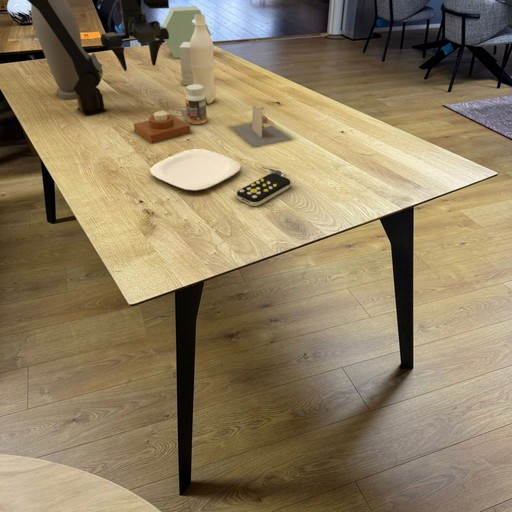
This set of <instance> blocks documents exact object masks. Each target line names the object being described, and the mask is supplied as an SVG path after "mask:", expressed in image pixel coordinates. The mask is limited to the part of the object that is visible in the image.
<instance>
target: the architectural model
mask: <svg viewBox="0 0 512 512" xmlns="http://www.w3.org/2000/svg"><path fill="white" fill-rule="evenodd" d="M251 108H252V109H251V110H252V114H251V115H252V119H251V120H252V121H251V123H245V124H240V125H235V126H230V129H231V130H233V132H235V133H236V134H238V136H240V137H241V138H242V139H243V140H245V142H247V143H248V144H249V145H251V146H252V147H253V148H255V147H260V146H261V147H262V146H265V145H270V144H276V143H280V142H284V141H289V140H291V138H290V137H289V136H288V135H286V134H285V133H283V132H282V131H280V130H279V129H278V128H276V127H275V126H276V123H275V122H274V121H272V120H270V119H269V118H268V116H266V115H265V114H264V113H263V110H264V108H265V106H260V107H258V106H257V105H255V104H254V103H252V107H251Z"/></svg>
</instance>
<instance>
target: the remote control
mask: <svg viewBox="0 0 512 512" xmlns="http://www.w3.org/2000/svg"><path fill="white" fill-rule="evenodd" d="M290 188H291V180H290V179H289V178H287V177H285V176H283V175H280V174H279V173H268V174H266V175H264V176H263V177H261V178H259V179H257V180H255V181H254V182H251V183H249V184H247V185H246V186H244V187H242V188H240V189H238V190H237V192H236V199H237V200H238V201H240V202H243V203H244V204H247V205H249V206H251V207H258V206H261V205H262V204H264V203H266V202H268V201H270V200H271V199H273V198H274V197H276V196H278V195H280V194H282V193H283V192H285V191H286V190H288V189H290Z"/></svg>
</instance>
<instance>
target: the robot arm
mask: <svg viewBox="0 0 512 512" xmlns="http://www.w3.org/2000/svg"><path fill="white" fill-rule="evenodd" d="M26 1H27V2H28V3H30V5H31V4H32V5H33V6H34V7H36V8H37V9H38V10H39V12H40V13H41V15H42V16H43V17H44V19H45V20H46V22H47V23H48V25H49V26H50V28H51V29H52V31H53V32H54V34H55V35H56V37H57V38H58V40H59V41H60V43H61V44H62V46H63V47H64V48H65V50H66V51H67V53H68V54H69V56H70V57H71V59H72V61H73V64H74V67H75V70H76V73H77V75H78V77H79V79H78V81H77V83H76V85H75V87H74V90H75V92H76V96H77V98H76V100H77V105H78V107H77V110H78V111H79V112H80V113H82V114H83V115H84V116H89V115H93V114H98V113H103V112H106V108H105V103H104V98H103V93H101V91H100V88H98V86H99V85H100V84H101V81H102V78H103V74H104V72H103V71H104V70H103V64H102V63H101V62H100V61H99V60H98V58H97V56H96V54H95V53H94V52H93V53H92V54H89V53H88V52H87V51H86V50H85V49H84V48H83V46H81V45H82V44H81V45H80V43H79V42H78V40H77V39H76V37H75V36H74V34H73V33H72V31H71V30H70V28H69V26H68V25H67V23H66V22H65V20H64V19H63V17H62V16H61V14H60V13H59V11H58V10H57V8H56V7H55V5H54V4H53V2H52V0H26ZM119 5H120V11H121V12H119V16H120V18H122V25H123V28H122V33H123V34H119V33H116V32H114V31H113V32H105V33H101V35H100V43H101V45H102V46H103V47H106V48H107V49H110V50H111V51H112V53H113V54H114V56H115V57H116V58H117V60H118V63H119V64H120V66H121V68H122V70H123V71H124V72H128V71H127V70H128V69H127V63H126V62H127V61H126V57H125V47H124V46H122V45H123V43H128V42H133V41H137V42H138V43H139V44H141V45H142V44H143V45H144V44H146V43H148V48H149V55H150V61H151V65H152V66H154V67H155V66H156V65H157V59H158V54H159V51H160V48H161V46H162V45H163V44H164V43H166V41H165V39H169V32H168V30H167V29H166V28H164V27H162V25H161V24H160V22H159V21H158V20H152V21H149V22H148V20H147V16H146V13H144V11H143V5H144V6H146V7H147V8H148V10H149V9H150V10H151V9H152V10H153V9H154V10H155V9H156V10H158V9H161V10H162V9H170V2H169V0H143V2H142V0H119Z"/></svg>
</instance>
